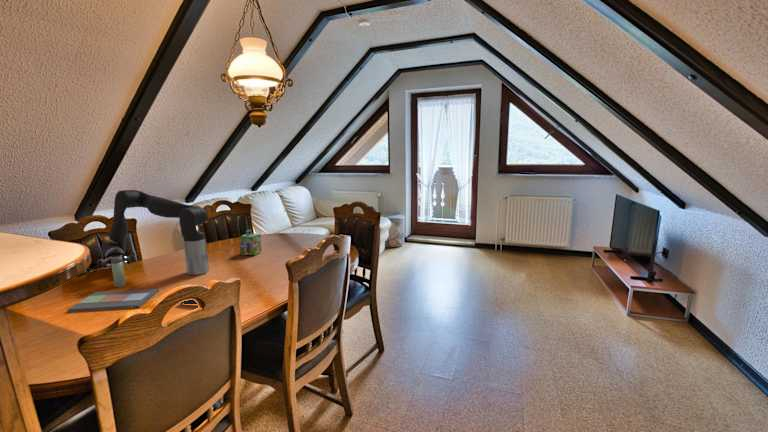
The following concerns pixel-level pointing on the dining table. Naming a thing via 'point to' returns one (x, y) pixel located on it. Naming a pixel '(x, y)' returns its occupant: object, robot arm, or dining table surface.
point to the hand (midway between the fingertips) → (117, 264)
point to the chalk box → (250, 243)
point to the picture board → (114, 300)
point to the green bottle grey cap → (118, 271)
